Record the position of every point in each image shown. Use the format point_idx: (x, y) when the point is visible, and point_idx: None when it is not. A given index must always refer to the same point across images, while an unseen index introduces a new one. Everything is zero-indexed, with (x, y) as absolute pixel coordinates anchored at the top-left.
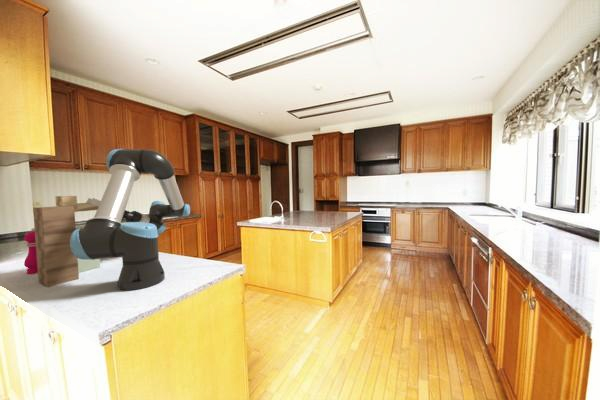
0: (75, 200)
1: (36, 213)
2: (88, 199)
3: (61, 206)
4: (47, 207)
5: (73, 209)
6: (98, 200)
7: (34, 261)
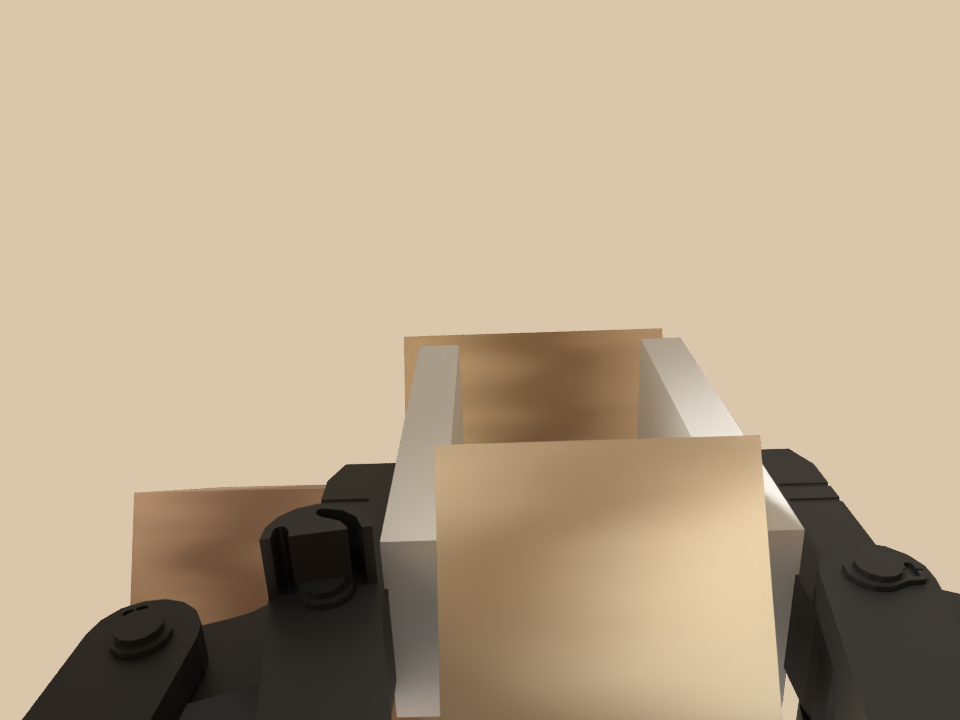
0: (405, 410)
1: None
2: (641, 373)
3: (312, 487)
4: (287, 486)
5: (137, 532)
6: (412, 398)
7: None
